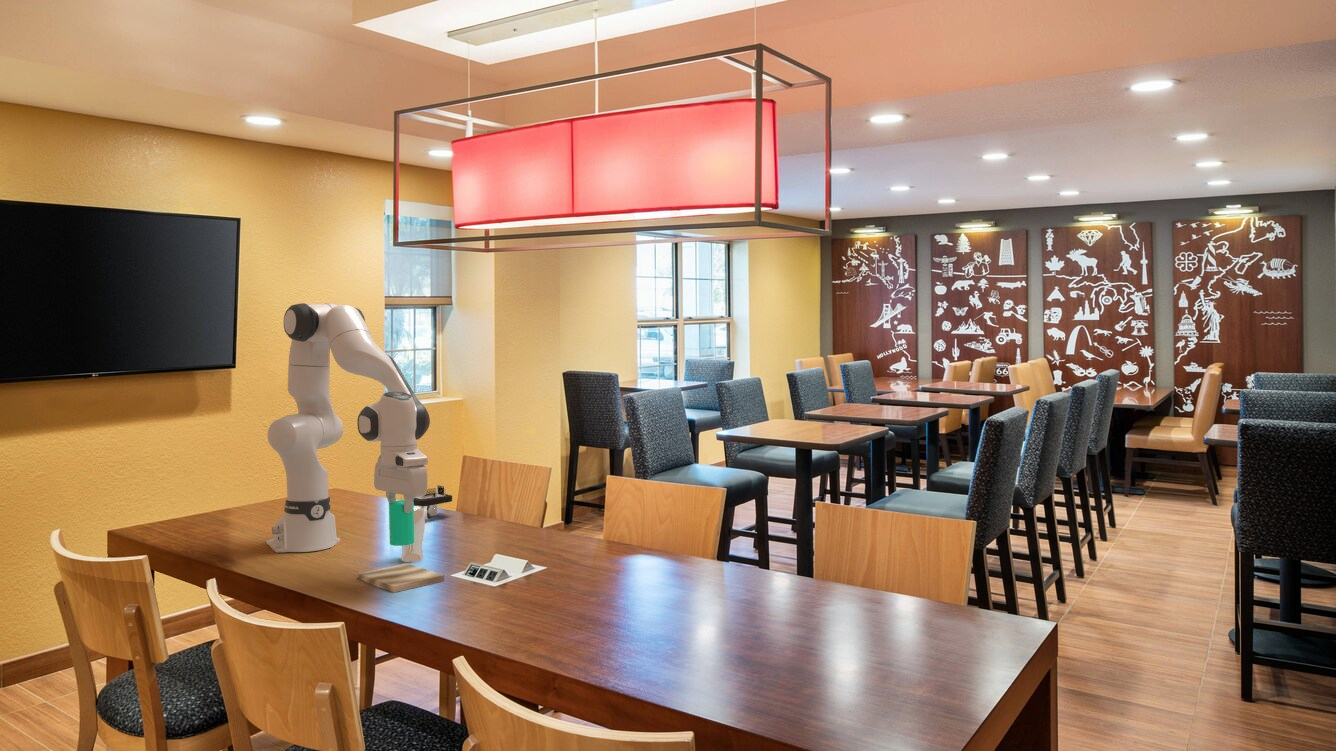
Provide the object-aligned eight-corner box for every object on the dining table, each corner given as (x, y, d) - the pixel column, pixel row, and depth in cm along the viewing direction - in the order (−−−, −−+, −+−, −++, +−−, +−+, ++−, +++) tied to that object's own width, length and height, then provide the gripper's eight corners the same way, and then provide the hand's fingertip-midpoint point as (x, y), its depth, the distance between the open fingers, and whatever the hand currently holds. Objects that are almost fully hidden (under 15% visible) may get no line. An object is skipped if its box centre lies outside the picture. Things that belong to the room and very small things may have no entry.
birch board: (357, 579, 222) (357, 573, 222) (407, 568, 233) (407, 563, 233) (393, 592, 210) (393, 586, 210) (444, 581, 220) (444, 575, 220)
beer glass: (417, 565, 236) (417, 510, 236) (394, 564, 238) (393, 509, 237) (429, 559, 243) (429, 505, 243) (406, 558, 244) (406, 505, 244)
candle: (407, 539, 225) (406, 493, 225) (419, 542, 221) (417, 495, 221) (385, 543, 221) (384, 496, 221) (397, 546, 217) (396, 498, 216)
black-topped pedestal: (410, 540, 269) (409, 497, 268) (372, 527, 288) (371, 487, 287) (488, 527, 288) (488, 486, 288) (448, 516, 307) (448, 478, 307)
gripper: (367, 454, 225) (368, 507, 226) (408, 460, 211) (409, 517, 212) (389, 452, 230) (390, 504, 230) (431, 458, 216) (432, 513, 216)
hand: (400, 510), depth 221 cm, fingers closed on candle, 5 cm apart
